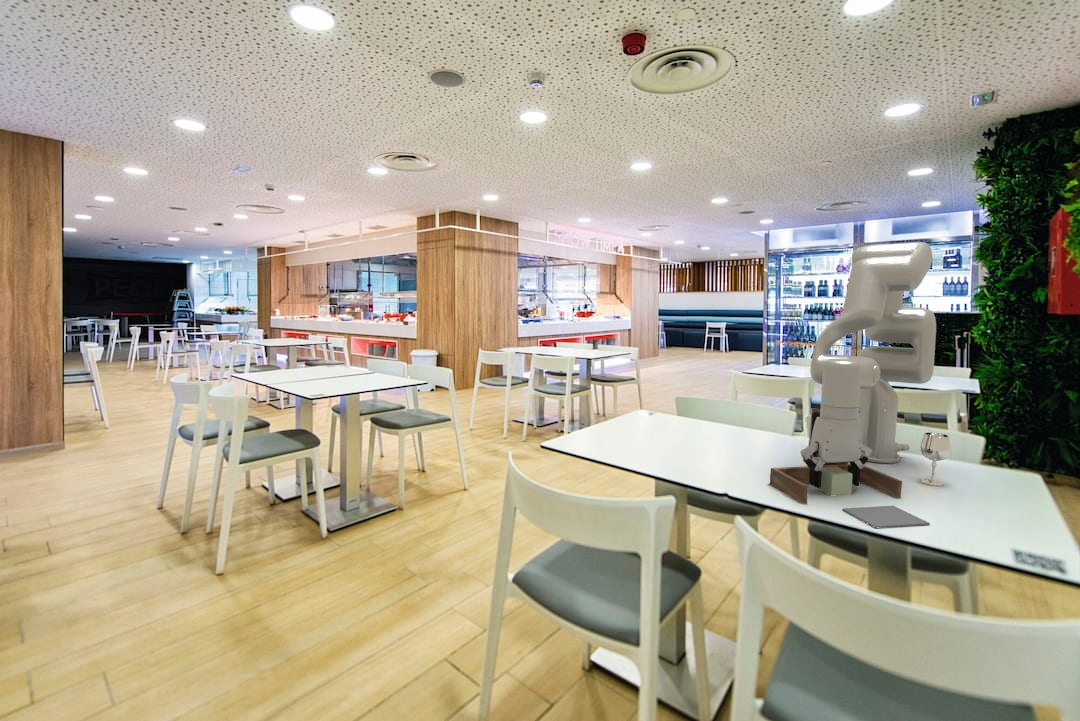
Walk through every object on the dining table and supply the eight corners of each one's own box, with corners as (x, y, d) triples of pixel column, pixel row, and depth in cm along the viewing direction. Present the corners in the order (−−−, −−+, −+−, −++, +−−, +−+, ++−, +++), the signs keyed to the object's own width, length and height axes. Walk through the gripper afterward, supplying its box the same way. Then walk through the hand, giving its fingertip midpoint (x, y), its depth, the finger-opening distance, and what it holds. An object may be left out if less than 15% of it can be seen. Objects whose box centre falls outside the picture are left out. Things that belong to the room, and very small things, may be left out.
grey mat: (893, 507, 111) (893, 505, 111) (929, 525, 103) (929, 523, 102) (842, 510, 110) (842, 508, 110) (875, 528, 101) (875, 526, 101)
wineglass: (941, 480, 128) (945, 433, 127) (951, 488, 123) (955, 438, 122) (914, 477, 130) (918, 431, 129) (922, 485, 125) (926, 436, 124)
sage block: (835, 487, 124) (837, 467, 123) (851, 495, 119) (852, 473, 118) (816, 488, 123) (817, 467, 122) (831, 496, 118) (832, 474, 118)
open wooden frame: (859, 479, 129) (860, 463, 129) (900, 498, 117) (902, 480, 116) (769, 483, 126) (770, 467, 125) (802, 503, 113) (803, 485, 113)
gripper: (860, 408, 124) (855, 477, 126) (793, 410, 121) (789, 481, 123) (885, 415, 116) (880, 488, 118) (815, 417, 114) (810, 492, 116)
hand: (834, 484), depth 121 cm, fingers open, 9 cm apart
